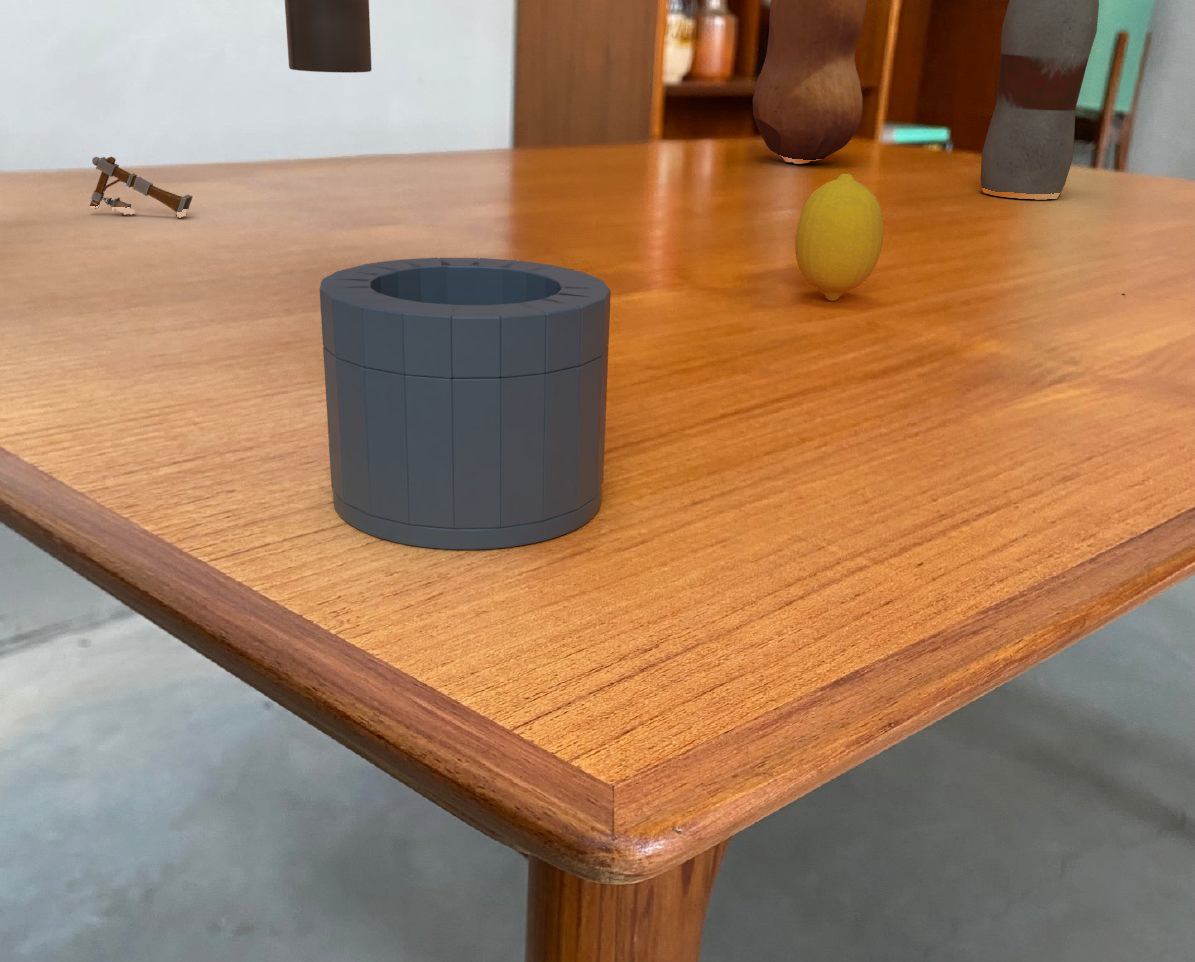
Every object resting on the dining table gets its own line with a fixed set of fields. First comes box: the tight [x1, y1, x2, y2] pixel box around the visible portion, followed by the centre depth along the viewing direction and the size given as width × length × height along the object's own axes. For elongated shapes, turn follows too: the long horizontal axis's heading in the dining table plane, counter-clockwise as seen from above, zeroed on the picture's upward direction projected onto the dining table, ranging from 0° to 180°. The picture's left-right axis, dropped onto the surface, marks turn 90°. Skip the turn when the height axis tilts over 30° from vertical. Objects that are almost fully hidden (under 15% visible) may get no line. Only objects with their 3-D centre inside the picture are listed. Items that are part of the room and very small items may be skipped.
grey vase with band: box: [980, 0, 1100, 194], centre depth 129 cm, size 9×9×30 cm
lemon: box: [794, 172, 884, 302], centre depth 80 cm, size 6×6×8 cm
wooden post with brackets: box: [89, 156, 194, 213], centre depth 102 cm, size 2×8×4 cm, turn 89°
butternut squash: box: [752, 0, 868, 160], centre depth 152 cm, size 14×13×25 cm
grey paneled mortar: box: [319, 257, 612, 551], centre depth 45 cm, size 10×10×8 cm
